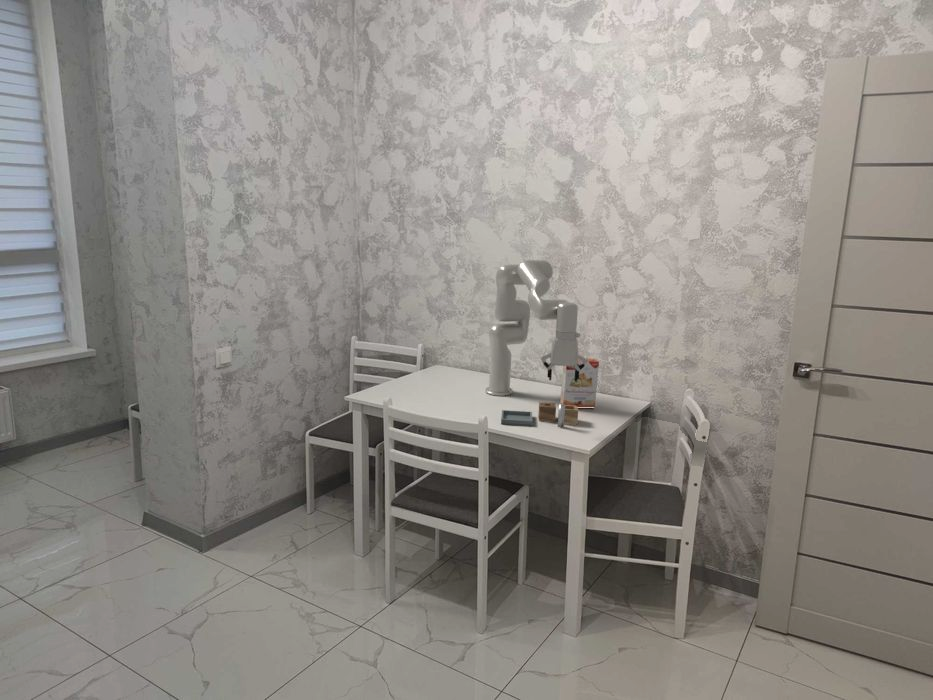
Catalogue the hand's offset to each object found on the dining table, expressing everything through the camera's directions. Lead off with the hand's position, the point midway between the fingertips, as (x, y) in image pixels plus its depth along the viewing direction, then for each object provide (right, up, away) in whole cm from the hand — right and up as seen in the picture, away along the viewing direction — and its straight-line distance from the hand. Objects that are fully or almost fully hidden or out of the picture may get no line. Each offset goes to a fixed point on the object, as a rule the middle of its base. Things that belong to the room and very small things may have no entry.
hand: (562, 380), depth 243 cm
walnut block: (-5, -16, +13) cm, 21 cm away
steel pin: (0, -18, +4) cm, 19 cm away
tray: (-17, -16, +10) cm, 26 cm away
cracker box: (+11, -13, +31) cm, 35 cm away
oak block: (+4, -17, +11) cm, 21 cm away
